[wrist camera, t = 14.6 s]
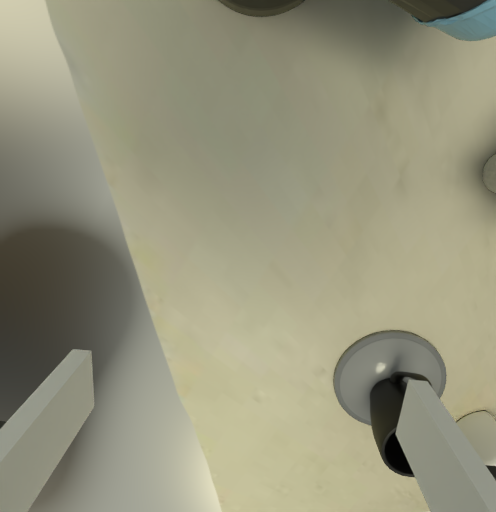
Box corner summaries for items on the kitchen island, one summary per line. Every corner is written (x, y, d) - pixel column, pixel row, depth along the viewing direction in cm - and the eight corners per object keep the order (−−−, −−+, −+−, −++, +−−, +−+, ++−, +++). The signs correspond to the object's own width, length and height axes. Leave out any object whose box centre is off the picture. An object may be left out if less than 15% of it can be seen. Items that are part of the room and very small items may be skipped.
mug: (433, 347, 49) (472, 394, 40) (413, 422, 52) (445, 481, 43) (370, 341, 49) (395, 387, 40) (355, 416, 52) (374, 474, 43)
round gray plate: (342, 325, 49) (343, 328, 48) (455, 335, 49) (458, 339, 48) (326, 418, 54) (327, 422, 53) (429, 427, 53) (432, 432, 53)
